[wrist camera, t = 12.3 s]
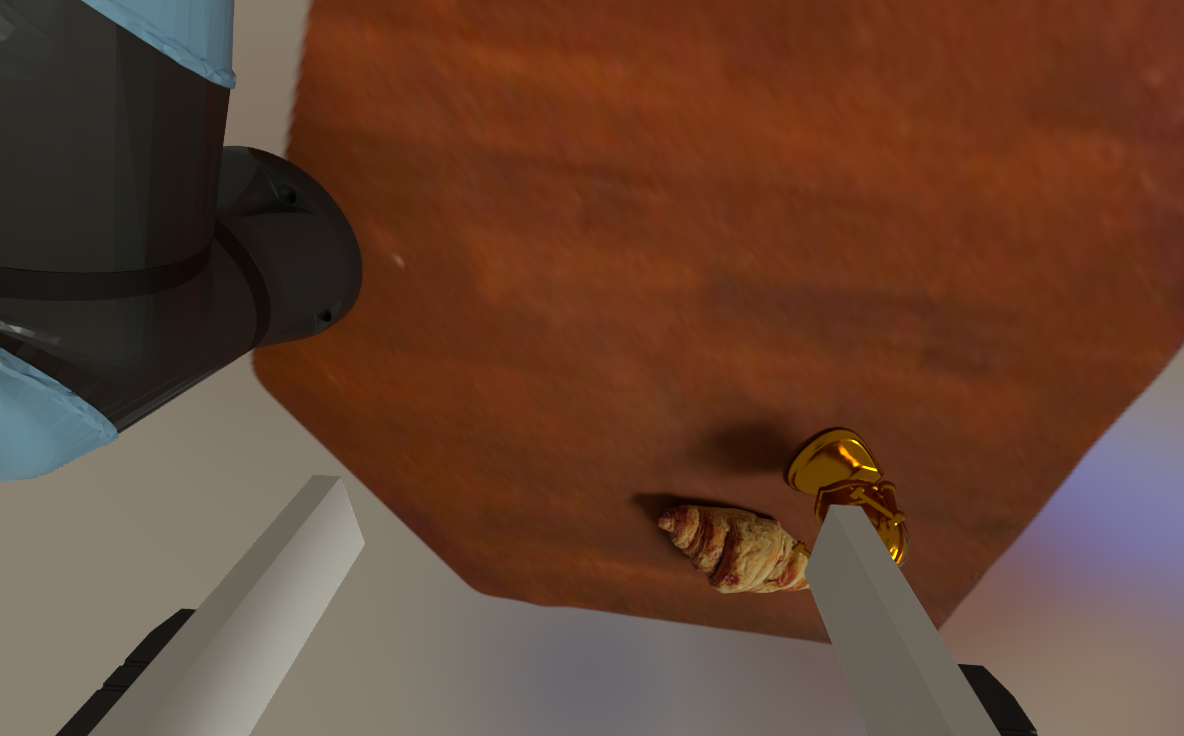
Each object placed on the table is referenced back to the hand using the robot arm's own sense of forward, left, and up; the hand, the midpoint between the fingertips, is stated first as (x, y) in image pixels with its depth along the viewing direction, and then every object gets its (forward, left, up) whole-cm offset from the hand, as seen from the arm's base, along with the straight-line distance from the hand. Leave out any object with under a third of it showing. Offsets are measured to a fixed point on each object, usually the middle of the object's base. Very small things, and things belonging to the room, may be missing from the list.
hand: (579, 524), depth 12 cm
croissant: (+16, -32, -27) cm, 44 cm away
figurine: (+23, -20, -27) cm, 41 cm away
